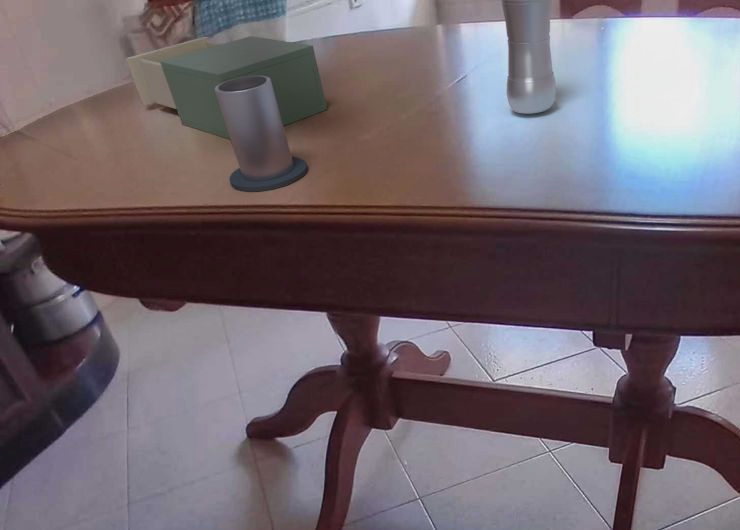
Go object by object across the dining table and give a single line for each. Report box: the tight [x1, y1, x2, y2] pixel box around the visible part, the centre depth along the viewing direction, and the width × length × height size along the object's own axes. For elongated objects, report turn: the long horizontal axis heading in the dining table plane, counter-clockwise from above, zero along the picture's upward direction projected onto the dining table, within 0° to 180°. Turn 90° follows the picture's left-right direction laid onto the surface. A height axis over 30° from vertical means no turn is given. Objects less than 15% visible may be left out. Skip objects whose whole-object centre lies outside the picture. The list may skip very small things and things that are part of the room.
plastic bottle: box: [500, 0, 557, 115], centre depth 86 cm, size 6×7×20 cm
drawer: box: [124, 36, 225, 110], centre depth 109 cm, size 19×14×7 cm
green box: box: [160, 35, 328, 141], centre depth 99 cm, size 16×15×9 cm
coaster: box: [228, 156, 309, 193], centre depth 82 cm, size 9×9×1 cm
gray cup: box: [215, 76, 294, 181], centre depth 79 cm, size 6×6×10 cm
